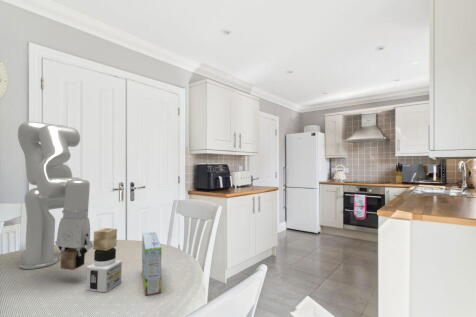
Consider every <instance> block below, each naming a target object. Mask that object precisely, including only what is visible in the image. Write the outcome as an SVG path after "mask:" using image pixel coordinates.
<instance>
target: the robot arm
mask: <svg viewBox="0 0 476 317" xmlns="http://www.w3.org/2000/svg"><path fill="white" fill-rule="evenodd" d="M17 139H18V143H19V147H20V148H21V150H22V151H23V152H22V153H23V156H24V160H25V169H26V171H25V172H26V177H27V178H26V179H27V182H28V183H29V185H33V186H36V187H33V188H31V189H29V190H27V192H26V193H25V195H24V205H25V213H26V223H25V224H26V229H25V230H26V231H25V246H24V247H25V251H23V252H22V254H20V255H18V257H19V258H20V259H22V261H21V262H20V263H19V268H20V269H23V270H33V269H41V268H45V267H49V266H51V265H55V264H56V263H57V262H59V257H58V256H56V255H55V246H57V247H58V249H59V250H60V253H59V254H62V251H63V250H66V249H68V248H74V249H77V255H78V256H76V266H75V267H76V269H78V268H80V267H82V266H84V265H85V259H84V254H85V255H86V254H87V253H88V252H89V251H90V250H91V249H92V248H93V245H94V244H93V243H92V242H91V225H90V218H89V204H90V203H89V202H90V189H91V188H90V186H91V185H90V181H88V180H87V179H82V178H80V177H73V173H72V170H71V167H70V166H68V165H67V164H65V163H66V162H68V161H69V160H71V152H70V149H69V147H71V148H75V147H77V146H79V144H80V142H81V135H80V132H79V131H78V129H76V127H72V126H66V125H63V124H62V125H61V124H60V125H59V124H55V123H54V124H53V123H48V122H47V123H46V122H39V121H25V122H22V123H21V124H20V125H19V126H18V129H17ZM56 209H57V210H58V209H63V210H62V211H61V212H62V217H60V221H59V225H58V229H57V236H56V240H55V234H56V218H55V217H54V215H53V214H52V213H51V212H50V210H56ZM81 248H82V251H81ZM83 264H84V265H83Z"/></svg>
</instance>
